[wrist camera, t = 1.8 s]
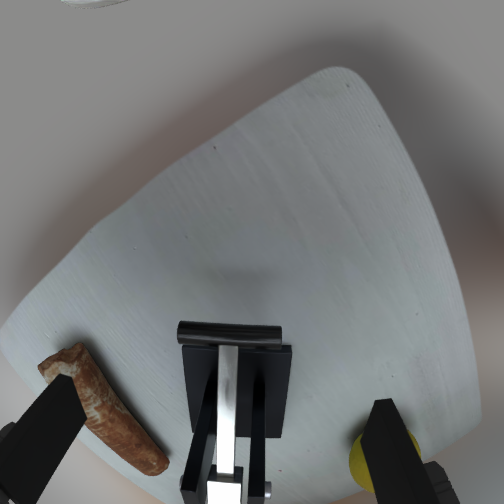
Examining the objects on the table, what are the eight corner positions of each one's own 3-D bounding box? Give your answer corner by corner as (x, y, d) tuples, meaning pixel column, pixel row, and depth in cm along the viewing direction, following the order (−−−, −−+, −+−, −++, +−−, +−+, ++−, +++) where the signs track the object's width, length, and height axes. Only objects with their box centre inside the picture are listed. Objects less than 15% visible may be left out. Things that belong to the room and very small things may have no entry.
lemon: (333, 425, 27) (347, 484, 19) (401, 395, 26) (429, 448, 18) (355, 468, 29) (367, 515, 21) (411, 444, 28) (430, 488, 20)
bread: (89, 330, 25) (59, 360, 20) (180, 457, 29) (171, 492, 24) (51, 342, 26) (22, 369, 20) (140, 459, 30) (128, 490, 25)
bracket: (184, 339, 25) (135, 454, 12) (291, 345, 24) (308, 470, 12) (194, 425, 27) (168, 525, 15) (280, 430, 27) (284, 535, 15)
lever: (185, 319, 19) (175, 321, 16) (279, 324, 18) (283, 327, 16) (185, 489, 16) (178, 505, 14) (268, 495, 16) (270, 513, 14)
